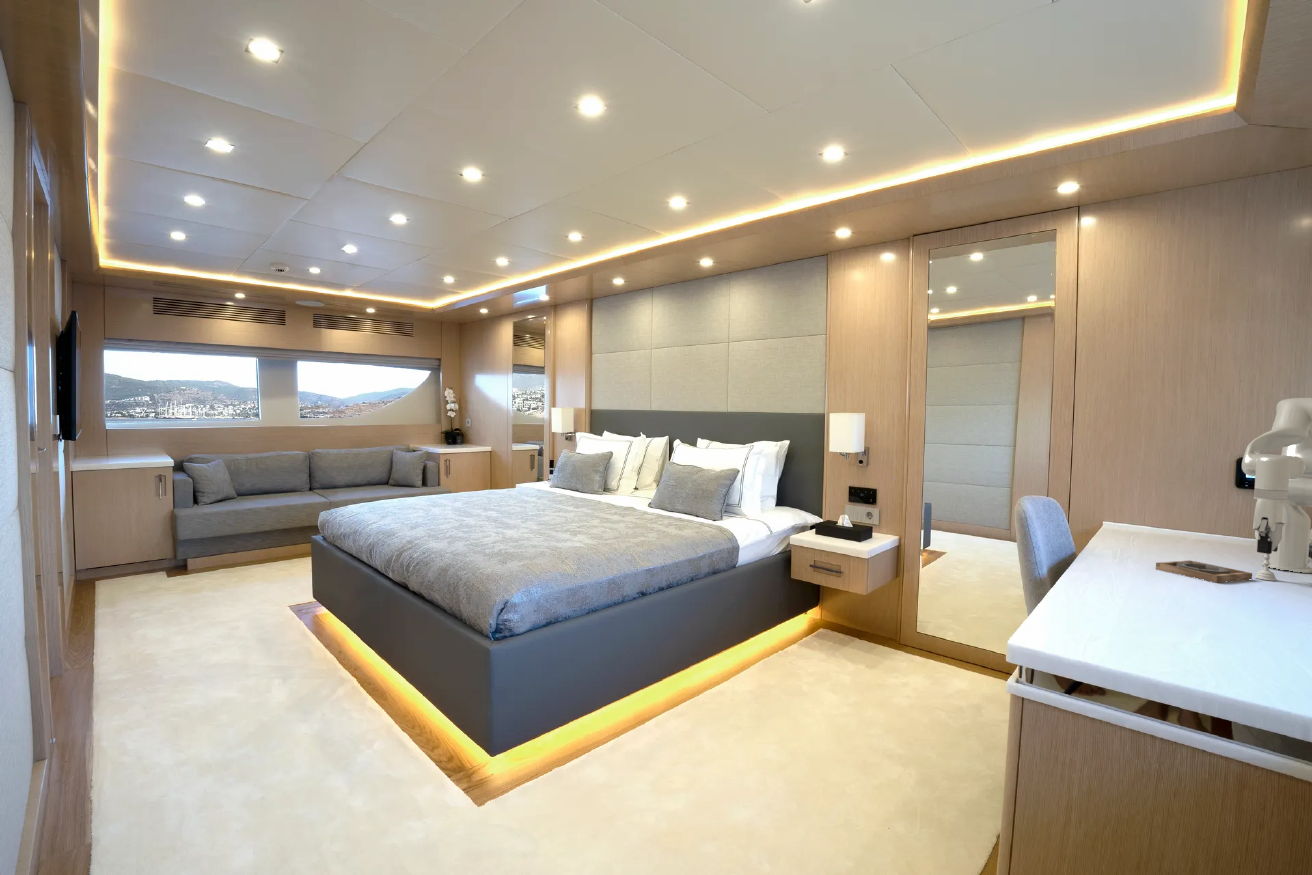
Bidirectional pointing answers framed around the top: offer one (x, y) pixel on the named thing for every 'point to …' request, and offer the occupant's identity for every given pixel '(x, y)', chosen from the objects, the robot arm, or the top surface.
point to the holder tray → (1202, 574)
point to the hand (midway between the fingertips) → (1267, 551)
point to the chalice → (1275, 540)
